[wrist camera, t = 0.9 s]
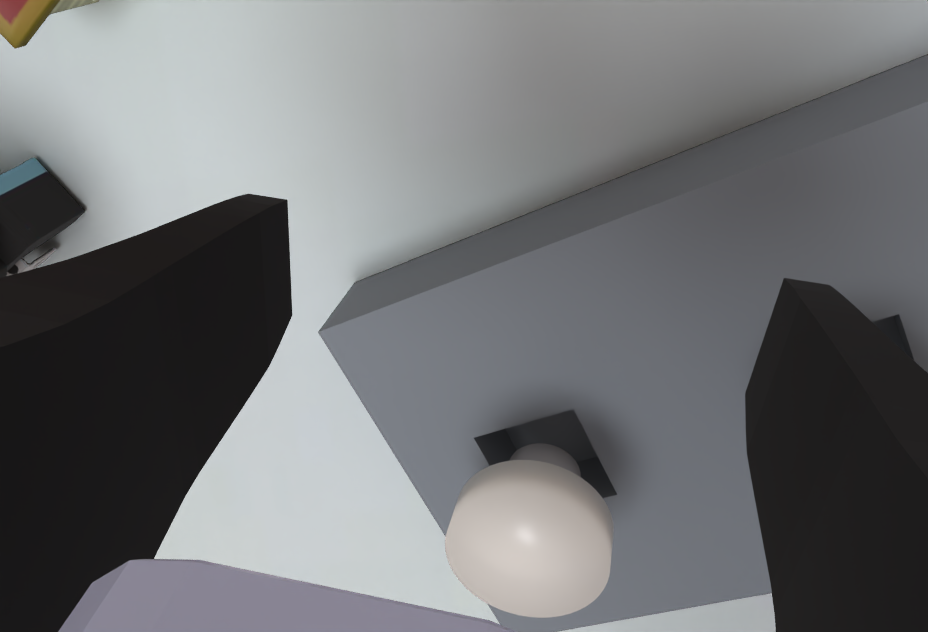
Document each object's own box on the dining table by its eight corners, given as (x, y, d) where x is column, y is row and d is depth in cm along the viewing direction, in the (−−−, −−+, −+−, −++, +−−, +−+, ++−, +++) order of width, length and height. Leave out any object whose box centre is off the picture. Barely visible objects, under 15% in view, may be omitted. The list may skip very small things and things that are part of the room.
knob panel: (1428, 377, 20) (1538, 454, 17) (524, 570, 29) (510, 639, 27) (1392, -131, 16) (1530, -128, 13) (354, 282, 25) (318, 331, 23)
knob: (641, 511, 23) (636, 602, 20) (510, 542, 24) (489, 629, 22) (582, 394, 21) (568, 474, 19) (447, 435, 23) (416, 513, 20)
